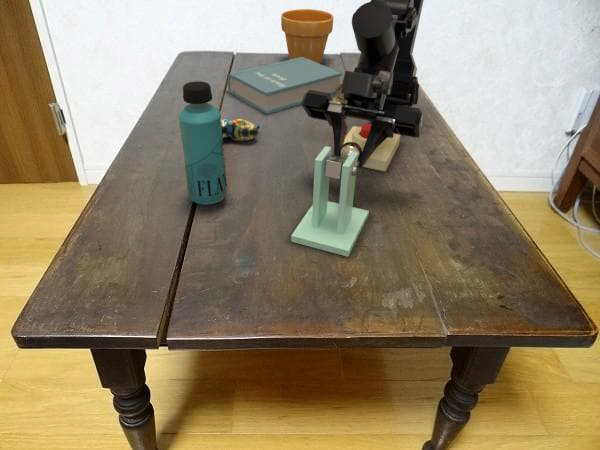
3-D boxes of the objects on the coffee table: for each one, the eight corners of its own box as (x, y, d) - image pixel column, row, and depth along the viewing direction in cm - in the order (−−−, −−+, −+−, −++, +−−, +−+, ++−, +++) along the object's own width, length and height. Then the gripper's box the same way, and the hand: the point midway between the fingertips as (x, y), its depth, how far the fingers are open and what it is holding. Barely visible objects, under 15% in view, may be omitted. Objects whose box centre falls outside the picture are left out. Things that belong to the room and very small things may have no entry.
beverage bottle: (195, 217, 77) (180, 96, 65) (183, 196, 82) (167, 80, 70) (234, 207, 79) (226, 89, 67) (220, 187, 84) (210, 74, 72)
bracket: (316, 204, 81) (320, 134, 73) (368, 216, 78) (377, 145, 70) (290, 241, 72) (292, 167, 65) (348, 257, 70) (356, 181, 62)
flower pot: (340, 63, 139) (344, 15, 131) (308, 75, 130) (310, 24, 123) (303, 52, 146) (304, 6, 139) (270, 63, 138) (270, 14, 130)
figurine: (193, 114, 104) (262, 116, 102) (194, 134, 105) (262, 137, 104) (177, 119, 94) (253, 122, 92) (178, 142, 95) (254, 145, 94)
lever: (341, 158, 78) (344, 137, 77) (363, 163, 77) (366, 141, 76) (319, 179, 69) (322, 155, 67) (343, 184, 68) (347, 160, 66)
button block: (352, 135, 102) (354, 117, 99) (399, 144, 99) (402, 126, 97) (334, 160, 93) (335, 142, 90) (385, 171, 90) (388, 152, 88)
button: (363, 130, 96) (364, 122, 94) (381, 133, 94) (382, 125, 93) (358, 137, 93) (359, 129, 92) (376, 141, 92) (377, 133, 91)
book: (266, 114, 109) (266, 93, 106) (228, 92, 119) (227, 72, 116) (340, 92, 121) (341, 73, 118) (299, 74, 131) (300, 55, 128)
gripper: (307, 37, 72) (278, 135, 70) (433, 54, 67) (404, 161, 65) (322, 72, 83) (297, 158, 81) (432, 90, 77) (407, 182, 76)
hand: (347, 164), depth 75 cm, fingers closed on lever, 3 cm apart
